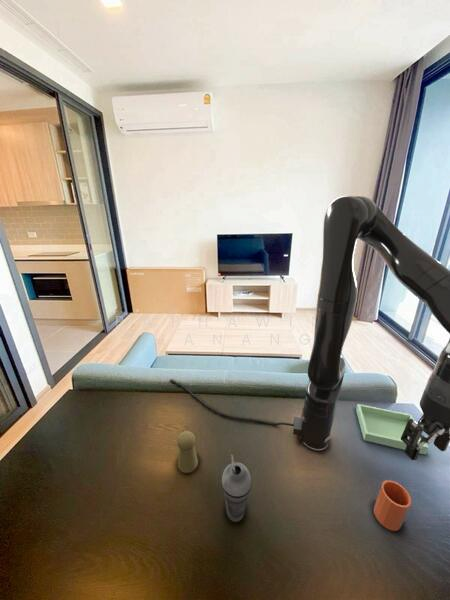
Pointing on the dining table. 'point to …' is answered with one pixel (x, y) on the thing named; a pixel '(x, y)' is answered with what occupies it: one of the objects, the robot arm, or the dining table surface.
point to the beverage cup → (236, 489)
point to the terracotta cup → (392, 505)
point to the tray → (384, 426)
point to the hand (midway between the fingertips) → (424, 452)
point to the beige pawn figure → (187, 452)
